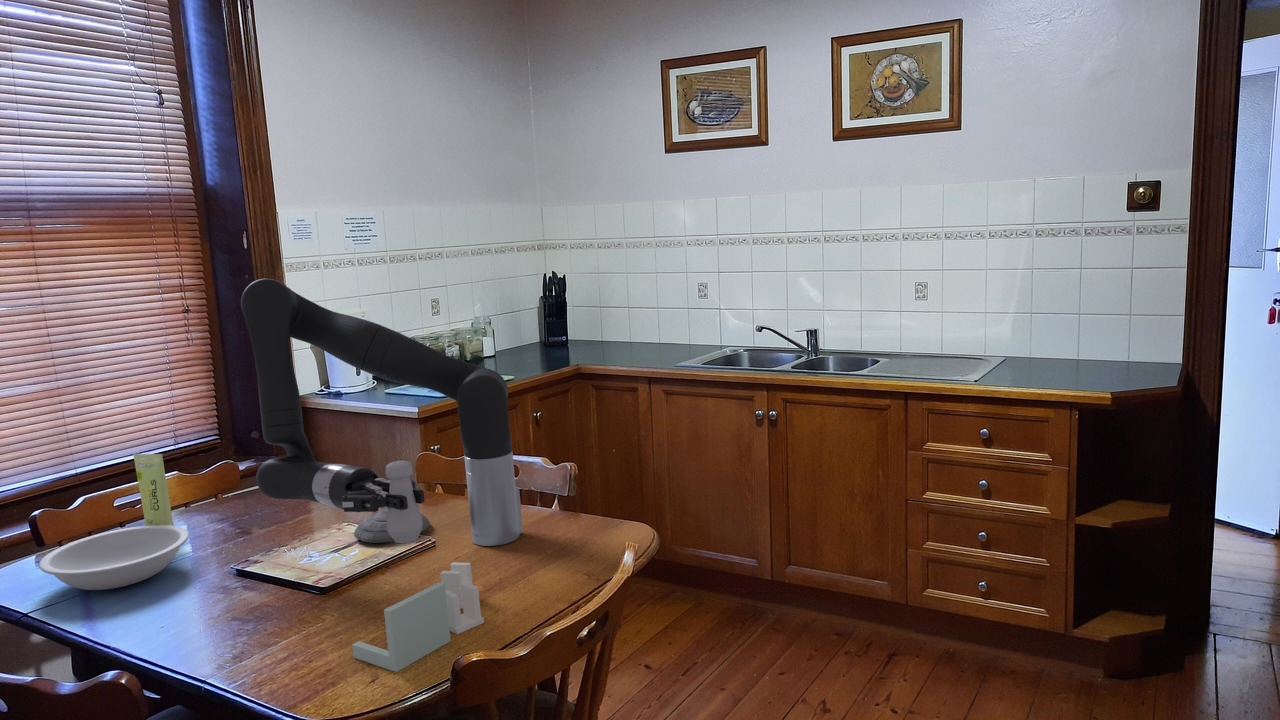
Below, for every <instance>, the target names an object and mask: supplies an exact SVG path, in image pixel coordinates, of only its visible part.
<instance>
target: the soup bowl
mask: <svg viewBox="0 0 1280 720" xmlns="http://www.w3.org/2000/svg"><path fill="white" fill-rule="evenodd" d="M189 537H190V532H189V531H188V529H186V528H184V527H181V526H178V525H177V526H176V525H174V526H169V525H150V526H146V525H140V526H139V525H138V526H133V527H127V528H126V527H125V528H120V529H115V530H111V531H105V532H102V533H101V532H100V533H98V534H93V535H90V536H87V537H84V538H80V539H78V540H74V541H72V542H69V543H67V544H65V545H62V546H60V547H58V548H55V549H54V550H52V551H50V552H49V553H47V554H46V555H45V556H43V557H42V559H41V560H40V561H39V564H38V568H39V569H40V571H42V572H44V573H46V574H48V575H53V576H54V577H55V578H56V579H58V580H59V581H60V582H62V583H64V584H66V585H67V586H69V587H73V588H76V589H79V590H85V591H88V590H89V591H102V590H103V591H104V590H112V589H118V588H123V587H127V586H129V585H133V584H136V583H137V584H138V583H140V582H142V581H144V580H146V579H149V578H151V577H153V576H155V575H157V574H158V573H160V572H162V570H164V569H165V568H166V567H167V566H168V565H169V564H171V562H172V561H173V560H174V558H175V557H176V555H177V554H178V552H179V549H180V547H182V546H183V545H184V544H185V543H187V541H188V540H189Z"/></svg>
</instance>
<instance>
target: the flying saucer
mask: <svg viewBox="0 0 1280 720" xmlns="http://www.w3.org/2000/svg"><path fill="white" fill-rule="evenodd" d="M420 514H421V517H422V521H423V524H422V529H421V531H420V534H421V533H423V532H424V531H426V530H427V529H428V528H429V527H430V525H431V523H430V522H431V521H429V519H428V517H426V516H425V515H424V514H423V513H421V512H420ZM387 515H388V509H382V510H380V511H376V512H373V513H372V514H370V515H369V516H367V517H365V518H364V519H363V520H362V521H361V522H359V524H358V525H357V526H356V528H355V530H354V532H353V536H354V537H355V538H356V539H357V540H360V541H362V542H365V543H371V544H372V543H373V544H383V543H393V542H395V541H394V539H393V538H392V537H391V535H390V534H389V532H388V531H387Z"/></svg>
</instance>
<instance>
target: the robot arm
mask: <svg viewBox="0 0 1280 720" xmlns="http://www.w3.org/2000/svg"><path fill="white" fill-rule="evenodd" d="M240 300H241V301H240V307H241V311H242V314H243V317H244V322H245V326H246V328H247V331H248V335H249V339H250V342H251V346H252V352H253V356H254V362H255V363H254V364H255V369H256V371H255V372H256V378H257V388H258V398H259V409H260V420H261V421H260V422H261V430H262V436H263V441H264V442H265V443H266V444H269V445H273V446H274V445H275V446H280V447H282V448H283V449H284V451H285V453H286V454H287V456H281V457H277V458H270V459H268V460H266V461H264V462H263V463H262V464H261V465H260V466H259V467H258V469H257V471H256V476H255V477H256V479H255V481H256V485H257V487H258V489H259V490H260V492H262V493H263V495H264V496H266V497H269V498H272V499H275V500H306V501H311V502H314V503H320V504H324V505H326V506H327V507H330V508H331V507H332V508H336V509H340V510H343V512H345V513H350V512H351V513H362V512H363V513H377V512H379V510H380V509H382V510H385V509H388V508H390V507H391V508H395V509H399V510H405V509H407V508H408V503H407V497H406V496H403V495H391V494H389V489H390V479H389V478H385V477H384V478H383V477H379V476H378V475H377V474H376V473H375V472H374V471H373V470H372V469H369V468H368V467H361V466H357V465H356V466H355V465H350V464H344V463H329V462H321V461H317V460H316V458H315V456H314V453H313V451H312V448H311V445H310V443H309V440H308V438H307V435H306V433H305V429H304V419H303V411H302V410H303V409H302V403H301V402H302V401H301V396H300V389H299V385H298V382H297V378H296V374H295V370H294V365H293V360H292V355H291V353H292V352H291V346H290V338H292V339H293V340H294V339H295V340H298V341H300V342H304V343H307V344H310V345H312V346H314V347H317V348H319V349H321V350H323V351H324V352H326V353H327V354H329V355H331V356H333V357H335V358H336V359H338V360H340V361H342V362H343V363H346V364H348V365H350V366H352V367H355V368H356V369H358V370H361V371H363V372H365V373H368V374H370V375H373V376H375V377H378V378H380V379H383V380H386V381H390V382H393V383H396V384H397V383H398V384H402V385H407V386H413V387H419V388H424V389H428V390H430V391H431V390H432V391H433V392H436V393H438V394H442V395H444V396H446V397H448V398H450V399H452V400H454V401H456V402H457V413H458V421H459V431H460V440H461V444H462V447H463V455H464V457H463V458H464V465H465V477H466V487H467V497H468V498H467V499H468V509H469V510H468V511H469V518H470V519H469V521H470V527H471V528H470V529H471V530H470V531H471V538H472V543H474V544H475V545H478V546H483V547H491V546H492V547H495V546H502V545H507V544H510V543H512V542H514V541H516V540H517V539H519V537H520V535H521V534H523V533H524V529H523V518H522V509H521V508H522V507H521V506H522V504H521V495H520V487H519V485H516V477H515V476H516V475H515V467H514V466H515V465H514V454H513V441H512V435H511V428H510V419H509V409H508V408H509V406H508V398H509V387H508V384H507V381H505V378H504V377H503V376H502V375H501V374H499V373H498V372H497V371H495V370H493V369H491V368H487V367H483V366H479V365H476V364H473V363H469V362H467V361H463V360H459V359H457V358H454V357H450V356H448V355H446V354H443V353H442V352H439V350H438V351H437V350H436V349H434V348H432V347H430V346H428V345H426V344H424V343H422V342H421V341H417V340H415V339H414V338H411V337H409V336H406V335H405V334H402V333H401V332H398V331H396V330H394V329H391V328H389V327H386V326H384V325H382V324H379V323H375V322H373V321H370V320H368V319H364V318H359V317H356V316H352V315H348V314H344V313H339V312H337V311H333V310H330V309H328V308H325V307H324V306H321V305H320V304H317V303H315V302H313V301H311V300H309V299H307V298H305V297H304V296H302V295H300V294H298V293H297V292H295V291H294V290H292V289H291V288H290V287H289V286H287V285H286V284H285V283H282V282H281V281H279V280H276V279H272V278H261V279H257V280H255V281H253V282H251V283H249V284H248V286H247V287H245V289H244V291H243V292H242V295H241V299H240ZM410 479H411V483H412V486H413V493H414V496H415V500H416V503H417V504H418V505H421V504H423V503H425V501H426V499H425V493H424V490H423V489H421V488H417V487H416V481H415V480H413V479H412V478H410Z"/></svg>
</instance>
